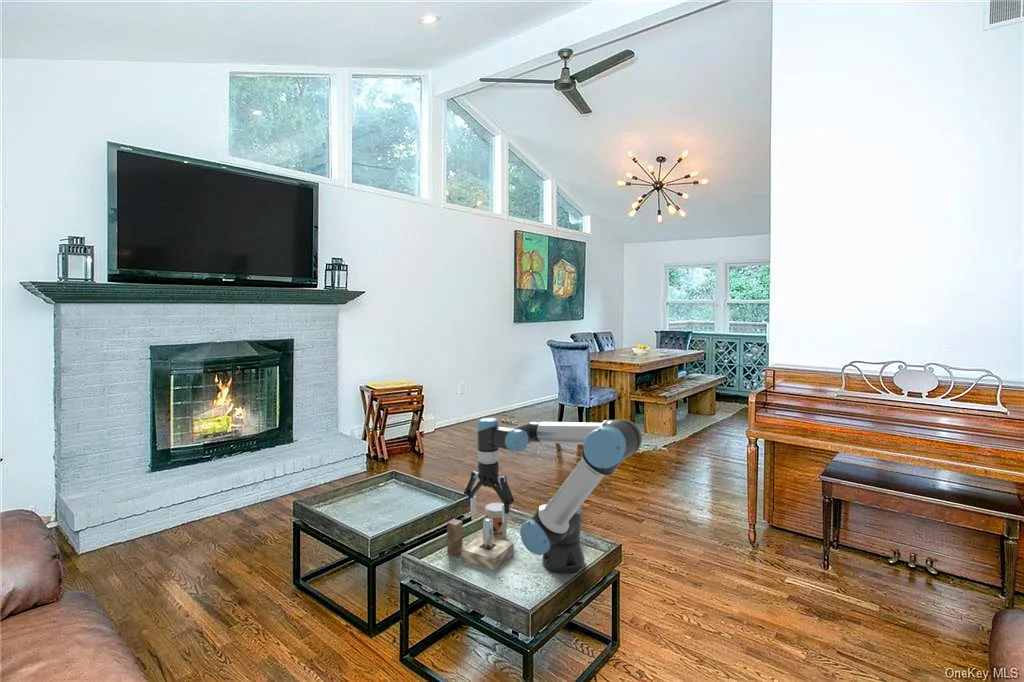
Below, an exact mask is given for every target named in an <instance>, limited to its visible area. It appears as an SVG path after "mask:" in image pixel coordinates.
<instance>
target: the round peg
mask: <svg viewBox="0 0 1024 682" xmlns="http://www.w3.org/2000/svg"><path fill="white" fill-rule="evenodd" d="M482 534H483V549H486V550H491V549H493V519H492V518H486V517H485V518H483V520H482Z"/></svg>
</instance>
